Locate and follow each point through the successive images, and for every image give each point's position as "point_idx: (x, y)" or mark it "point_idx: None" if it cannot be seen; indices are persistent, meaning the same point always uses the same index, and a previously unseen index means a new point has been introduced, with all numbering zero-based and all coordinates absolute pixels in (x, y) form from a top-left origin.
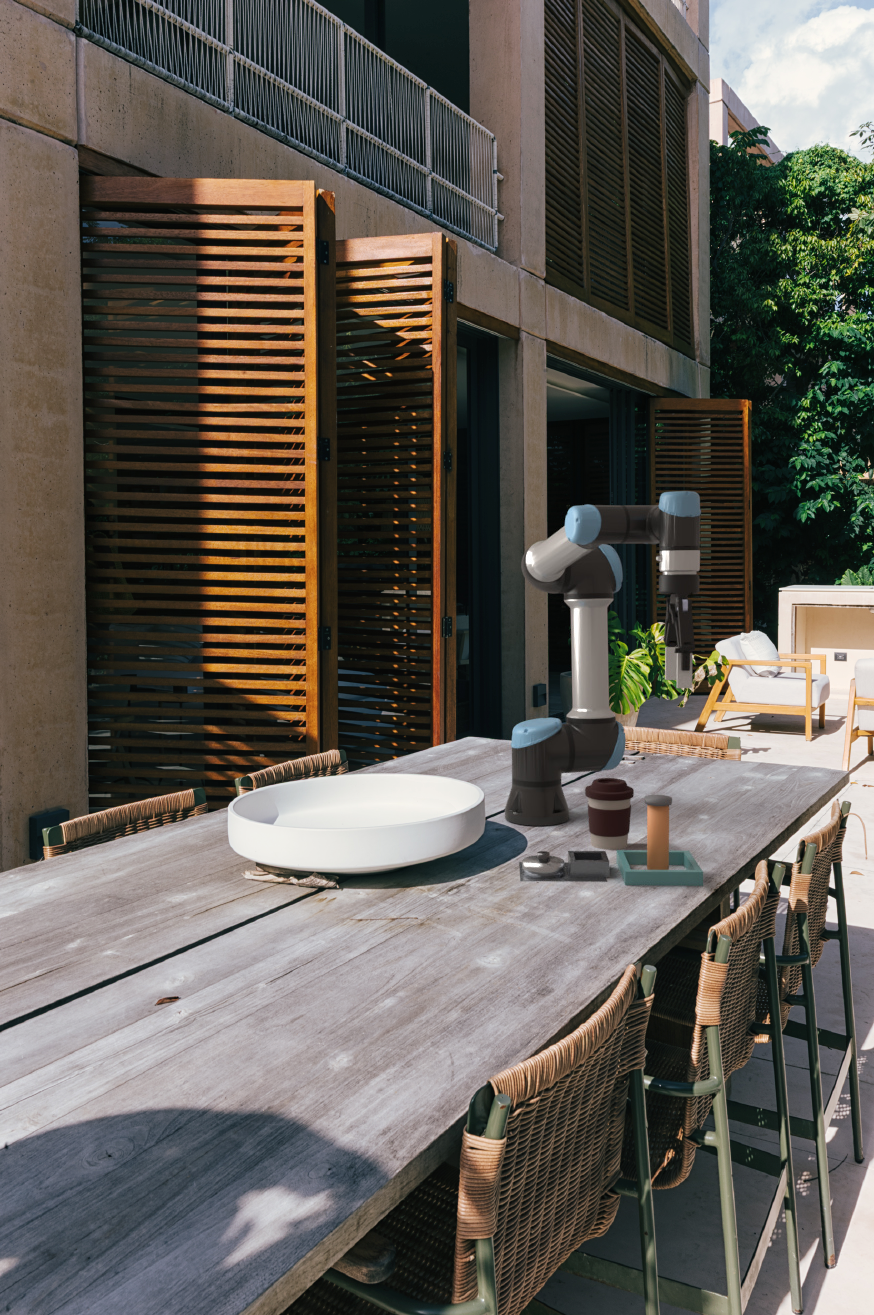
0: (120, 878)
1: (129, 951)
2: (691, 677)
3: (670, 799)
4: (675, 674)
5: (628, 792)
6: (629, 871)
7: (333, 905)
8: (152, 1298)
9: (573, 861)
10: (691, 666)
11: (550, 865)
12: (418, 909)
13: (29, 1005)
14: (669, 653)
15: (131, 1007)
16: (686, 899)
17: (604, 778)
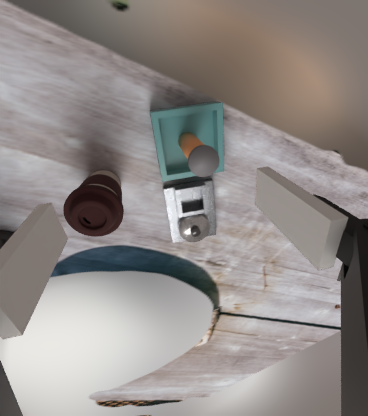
0: (211, 372)
1: (293, 333)
2: (284, 179)
3: (211, 148)
4: (51, 223)
5: (107, 192)
6: (223, 167)
7: (245, 301)
8: None
9: (207, 210)
10: (308, 194)
11: (205, 223)
12: (251, 269)
13: (332, 332)
14: (29, 298)
15: (340, 311)
16: (231, 117)
17: (78, 224)
